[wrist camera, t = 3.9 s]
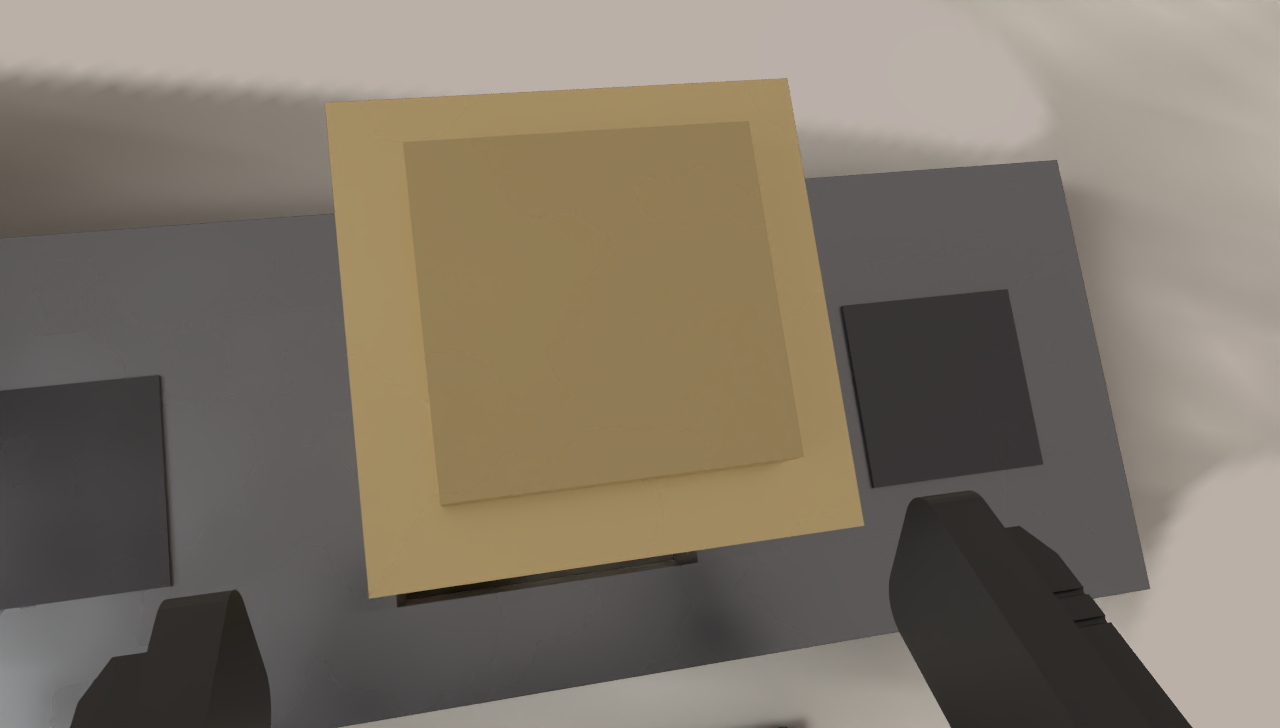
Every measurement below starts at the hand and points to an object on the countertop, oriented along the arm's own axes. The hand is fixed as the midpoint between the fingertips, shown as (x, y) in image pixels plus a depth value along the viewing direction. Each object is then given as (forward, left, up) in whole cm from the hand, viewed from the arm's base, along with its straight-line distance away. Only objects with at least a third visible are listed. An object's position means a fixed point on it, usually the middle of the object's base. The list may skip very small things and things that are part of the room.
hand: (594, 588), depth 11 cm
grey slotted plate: (0, +3, -10) cm, 10 cm away
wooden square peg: (0, +3, -10) cm, 10 cm away
